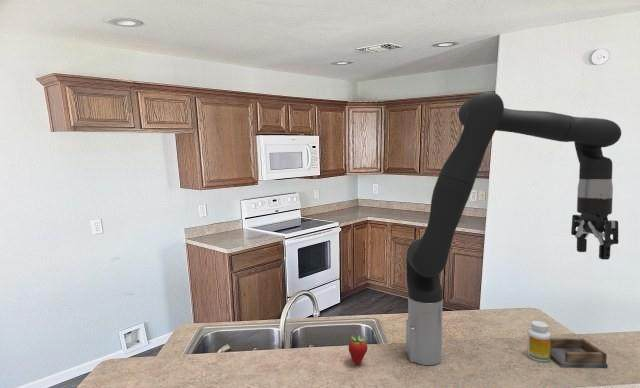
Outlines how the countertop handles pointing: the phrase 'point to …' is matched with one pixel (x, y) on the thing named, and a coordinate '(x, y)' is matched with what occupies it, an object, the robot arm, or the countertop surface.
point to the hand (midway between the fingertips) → (592, 255)
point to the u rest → (576, 353)
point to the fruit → (357, 349)
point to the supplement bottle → (539, 341)
